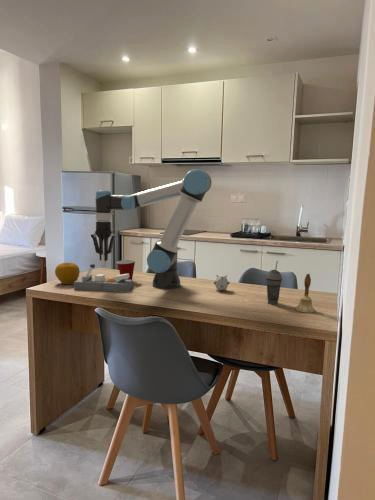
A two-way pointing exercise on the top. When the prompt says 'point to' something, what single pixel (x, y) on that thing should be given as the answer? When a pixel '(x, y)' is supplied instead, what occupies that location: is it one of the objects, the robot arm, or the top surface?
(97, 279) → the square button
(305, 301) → the hand bell
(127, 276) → the rocker
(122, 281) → the grey tray
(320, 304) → the top surface
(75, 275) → the apple
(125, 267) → the plastic cup
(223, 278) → the grey spiky ball
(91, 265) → the lever
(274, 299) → the beverage cup
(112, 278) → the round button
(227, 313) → the top surface
